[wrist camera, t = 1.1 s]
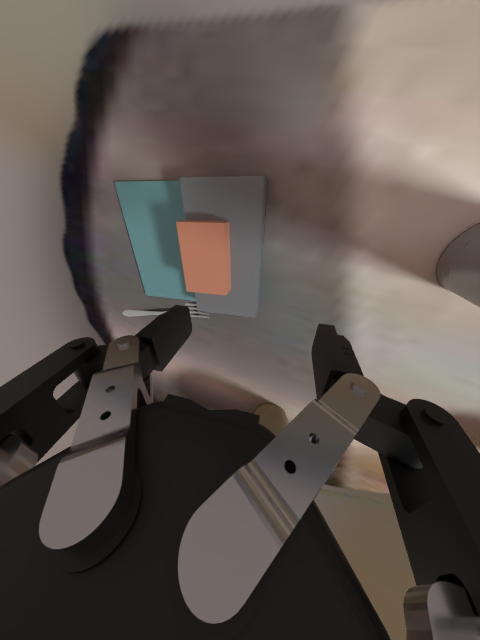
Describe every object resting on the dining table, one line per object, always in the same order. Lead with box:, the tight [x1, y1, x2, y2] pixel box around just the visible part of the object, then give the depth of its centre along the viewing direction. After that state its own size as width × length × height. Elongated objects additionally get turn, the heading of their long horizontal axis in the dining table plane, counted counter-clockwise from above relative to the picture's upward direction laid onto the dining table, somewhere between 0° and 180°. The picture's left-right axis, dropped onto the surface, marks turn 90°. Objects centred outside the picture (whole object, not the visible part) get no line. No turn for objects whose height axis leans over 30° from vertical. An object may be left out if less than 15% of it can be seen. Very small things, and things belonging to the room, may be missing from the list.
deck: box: [180, 176, 268, 318], centre depth 28 cm, size 10×18×4 cm, turn 179°
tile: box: [176, 220, 231, 295], centre depth 25 cm, size 6×9×2 cm, turn 179°
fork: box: [123, 303, 210, 318], centre depth 39 cm, size 3×24×2 cm, turn 100°
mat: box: [114, 181, 196, 301], centre depth 31 cm, size 12×18×1 cm, turn 179°
